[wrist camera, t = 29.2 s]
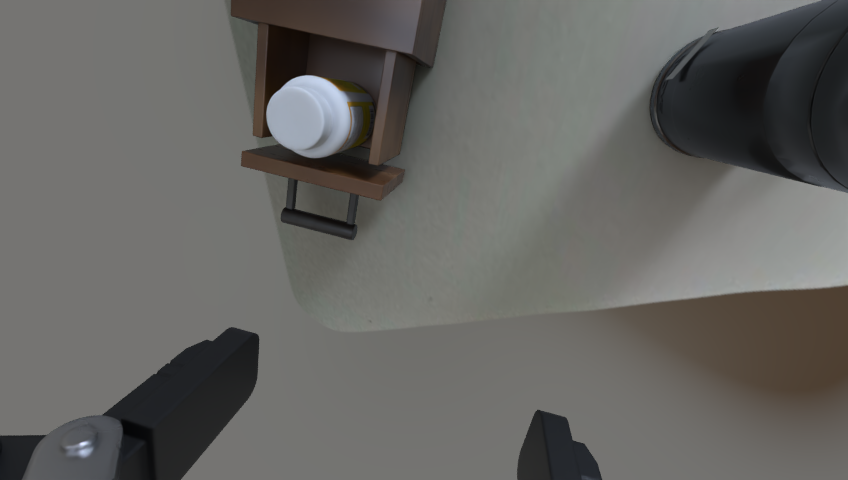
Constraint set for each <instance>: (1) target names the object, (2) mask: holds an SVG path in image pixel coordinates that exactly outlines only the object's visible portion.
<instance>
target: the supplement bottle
mask: <svg viewBox="0 0 848 480" xmlns="http://www.w3.org/2000/svg"><path fill="white" fill-rule="evenodd" d="M375 116H376V107H375V104H374V101H373V99H372V97H371V96H370V94H369V93H368V92H367V91H366V90H365V89H364V88H363V87H361V86H360V85H358V84H356V83H353V82H350V81H344V80H338V79H331V78H324V77H318V76H310V75H305V76H299V77H296V78H294V79H292V80H290V81H288V82H287V83H286V84H285V85H284V86H283V87H282V88H281V89H280V90H279V91H277V92H276V93H275V94H274V95H273V96H272V97H271V99H270V101H269V103H268V106H267V111H266V118H267V124H268V127H269V130H270V132H271V134H272V135H273V137H274V138H275V139H276V140H277V141H278V142H279V143H280V144H281V145H283V146H284V147H286V148H288V149H291V150H293V151H294V152H296V153H298V154H300V155H302V156H305V157H309V158H322V157H326V156H330V155H332V154H335V153H338V152H341V151H344V150H347V149H350V148H353V147H357V146H359V145H361V144H363V143H364V142H366V141H367V140H368V139H369V138H370V136H371V135H372V133H373V129H374V123H375Z"/></svg>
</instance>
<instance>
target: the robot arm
mask: <svg viewBox="0 0 848 480" xmlns="http://www.w3.org/2000/svg"><path fill="white" fill-rule="evenodd" d="M717 29H718V28H715V29H712V30H709V31H708V32H707V34H706V35H705V36H703V37H701V38H699V39H696V40H695V41H693V42H691V43H689V44H688V45H686V46H685V47H683V48H682V49H681V50H680V51H678V52H677V53H676V54H675V55H674V56H673V57H672V58H671V59H670V60H669V61H668V63H667V64H666V65H665V67H664V68H663V70H662V71H661V73H660V75H659V76H658V78H657V80H656V83H655V85H654V88H653V91H652V96H651V103H650V111H651V119H652V122H653V126H654V128H655V130H656V132H657V134H658V135H659V137H660V138H661V139H662V140H663V141H664V142H665V143H666V144H667V145H668V146H669V147H671V148H672V149H674V150H676V151H678V152H680V153H683V154H686V155H690V156H694V157H699V158H707V159H711V160H715V161H719V162H723V163H727V164H731V165H735V166H739V167H743V168H747V169H751V170H755V171H759V172H763V173H767V174H771V175H775V176H779V177H783V178H788V179H792V180H796V181H800V182H804V183H808V184H812V185H816V186H820V187H825V188H830V189H834V190H838V191H842V192H846V193H848V0H821V1H818V2H815V3H812V4H808V5H805V6H802V7H799V8H796V9H793V10H789V11H786V12H783V13H780V14H777V15H774V16H770V17H767V18H764V19H761V20H758V21H754V22H751V23H748V24H745V25H742V26H738V27H735V28H732V29H728V30H722V31H718V32H715V31H716V30H717ZM714 32H715V33H714ZM258 354H259V336H258V335H257V334H255V333H252V332H248V331H244V330H241V329H237V328H233V327H231V328H229V329H227V330H226V331H225V332H223V333H222V334H221V335H220V336H218V337H217V338H216V339H215V340H214V341H209V340H205V341H202V342H201V343H198V344H196V345H194V346H191V347H189V348H186V349H185V350H184V351H183V352H181V353H180V354H179V355H177V356H176V357H175V358H174V359H172V360H171V362H170V364H166V365H165V366H164V367H162V368H161V369H160V370H159V371H158V372H157V374H153V375H152V376H151V377H150V378H148V379H147V380H146V381H145V382H144V383H142V384H141V385H140V386H138V387H137V388H136V389H135V390H133V391H132V392H131V393H130V394H128V395H127V396H126V397H124V398H123V399H122V400H121V401H119V402H118V403H117V404H116V405H114V406H113V407H112V408H111V409H109V410H108V411H107V412H106V413H104V414H103V415H98V416H88V417H83V418H79V419H76V420H73V421H70V422H68V423H66V424H64V425H62V426H60V427H58V428H56V429H55V430H53V431H52V432H50V433H49V434H48V435H40V436H39V435H27V436H0V480H181V479H182V477H183V476H184V475H185V474H186V473H187V471H188V470H189V469H190V468H191V467H192V465H193V464H194V463H195V462H196V461H197V460H198V458H199V457H200V456H201V455H202V453H203V452H204V451H205V450H206V449H207V447H208V446H209V445H210V444H211V443H212V442H213V440H214V439H215V438H216V436H218V434H219V433H220V432H221V431H222V430H223V428H224V427H225V426H226V425H227V424H228V422H229V421H230V420H231V419H232V418H233V416H234V415H235V414H236V413H237V412H238V410H239V409H240V408H241V407H242V406H243V404H244V403H245V402H246V401H247V400H248V398H249V396H250V395H251V393H252V392H253V389H254V387H255V384H256V381H257V373H258ZM517 479H518V480H602V478H601V474H600V471H599V467H598V464H597V462H596V461H595V459H594V458H593V456H592V455H591V453H590V452H589V450H588V449H587V447H586V446H585V444H583V443H580V442H576V441H573V440H572V436H571V432H570V428H569V424H568V420H567V418H565V417H562V416H559V415H555V414H552V413H548V412H544V411H540V410H537V411H536V412H535V414H534V416H533V419H532V422H531V424H530V427H529V430H528V432H527V435H526V438H525V440H524V443H523V446H522V448H521V451H520V455H519V460H518V469H517Z"/></svg>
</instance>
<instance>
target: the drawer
mask: <svg viewBox="0 0 848 480" xmlns="http://www.w3.org/2000/svg"><path fill="white" fill-rule="evenodd" d="M415 67H416V61H415V60H414V59H412V58H410V57H409V56H407V55H405V54H402V53H398V52H393V51H389V50H384V49H379V48H375V47H370V46H365V45H361V44H356V43H351V42H347V41H342V40H337V39H333V38H328V37H324V36H319V35H314V34H310V33H305V32H300V31H296V30H291V29H286V28H282V27H277V26H272V25H268V24H263V23H259V22H258V40H257V60H256V80H255V100H254V120H253V136H257V137H261V138H263V137H270V136H273V135H272V134H271V132H270V130H269V127H268V124H267V118H266V111H267V106H268V103H269V101H270V99H271V97H272V96H273V95H274V94H275V93H276V92H277V91H279V90H280V89H281V88H282V87H283V86H284V85H285V84H286V83H287V82H288V81H290V80H292V79H294V78H296V77H299V76H305V75H310V76H318V77H324V78H331V79H338V80H344V81H350V82H353V83H356V84H358V85H360V86H361V87H363V88H364V89H365V90H366V91H367V92H368V93H369V94H370V96H371V97H372V99H373V101H374V104H375V107H376V116H375V123H374V129H373V133H372V135H371V136H370V138H369V139H368V140H367V141H366V142H364V143H363V144H361V145H359V146H360V147H365V148H369V149H370V155H369V161H366V160H362V159H358V158H354V157H350V156H345V155H341V154H337V153H335V154H332V155H330V156H326V157H322V158H309V157H305V156H302V155H300V154H298V153H296V152H294V151H293V150H291V149H288V148H286V147H284V146H283V145H281V144H278V145H273V146H267V147H262V148H257V149H252V150H246V151H242V158H241V159H242V160H241V166H243V167H247V168H251V169H255V170H260V171H263V172H267V173H271V174H275V175H279V176H283V177H287V178H289V179H288V191H287V203H286V207H285V208H284V209H283V211H282V213H281V221H282V222H283V223H287V224H291V225H295V226H299V227H303V228H307V229H311V230H314V231H318V232H322V233H326V234H330V235H334V236H338V237H342V238H345V239H349V240H354V238H355V236H356V233H357V225H356V224H354V223H355V218H356V211H357V205H358V198H359V195H360V196H364V197H368V198H372V199H376V200H382V199H383V198H384V197H386V196H387V195H388V194H389V193H390V192H391V191H392V190H394V189H395V188H396V187H397V186H398V185H399V184H401V183H402V182H403V177H404V172H405V170H404V169H400V168H395V167H391V166H387V165H383V164H382V163H384V162H386V161H387V160H389V159H391V158H393V157H395V156H397V155H399V154H400V149H401V143H402V138H403V132H404V127H405V121H406V116H407V111H408V105H409V100H410V94H411V89H412V83H413V78H414V72H415ZM298 180H299V181H303V182H307V183H312V184H316V185H320V186H324V187H328V188H332V189H336V190H340V191H344V192H348V193H351V194H350V201H349V208H348V215H347V222H344V221H340V220H336V219H332V218H328V217H324V216H320V215H317V214H313V213H309V212H305V211H301V210H297V209H294V208H295V203H296V193H297V182H298Z"/></svg>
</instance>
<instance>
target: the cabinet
mask: <svg viewBox="0 0 848 480" xmlns="http://www.w3.org/2000/svg"><path fill="white" fill-rule="evenodd" d="M445 5H446V0H231V16H233V17H236V18H239V19H242V20H245V21H248V22H251V23H254V24H257V25H258V22H259V23H263V24H268V25H272V26H277V27H282V28H286V29H291V30H296V31H300V32H305V33H310V34H314V35H319V36H324V37H328V38H333V39H337V40H342V41H347V42H351V43H356V44H361V45H365V46H370V47H375V48H379V49H384V50H389V51H393V52H398V53H402V54H405V55H407V56H409V57H410V58H412V59H414V60H415V61H416V64H417V65H422V66H426V67H431V68H433V66H434V61H435V56H436V51H437V46H438V40H439V35H440V30H441V25H442V20H443V15H444V10H445Z"/></svg>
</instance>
